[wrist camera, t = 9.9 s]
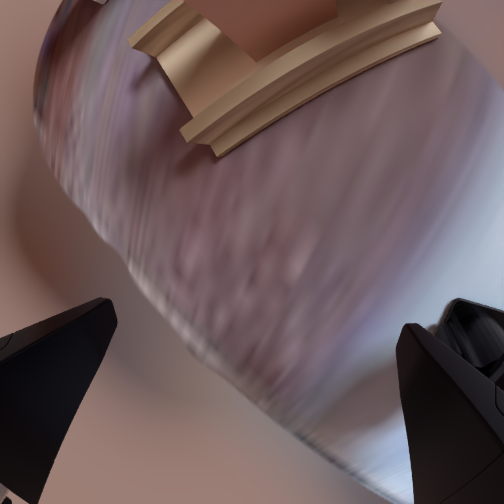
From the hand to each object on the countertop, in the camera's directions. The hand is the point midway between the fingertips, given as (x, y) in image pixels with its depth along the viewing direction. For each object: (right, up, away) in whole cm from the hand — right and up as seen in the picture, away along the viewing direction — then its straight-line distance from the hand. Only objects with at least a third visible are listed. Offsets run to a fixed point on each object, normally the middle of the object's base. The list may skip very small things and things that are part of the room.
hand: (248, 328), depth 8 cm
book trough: (+2, +18, +7) cm, 19 cm away
